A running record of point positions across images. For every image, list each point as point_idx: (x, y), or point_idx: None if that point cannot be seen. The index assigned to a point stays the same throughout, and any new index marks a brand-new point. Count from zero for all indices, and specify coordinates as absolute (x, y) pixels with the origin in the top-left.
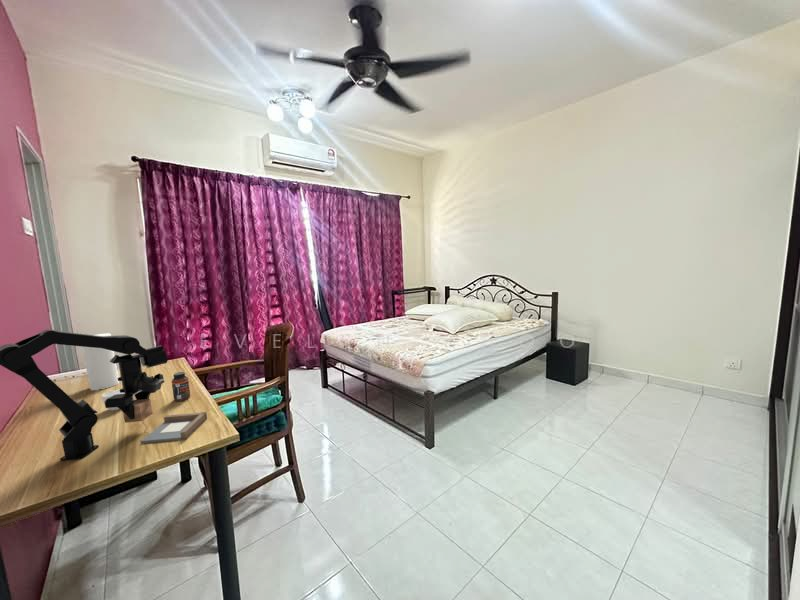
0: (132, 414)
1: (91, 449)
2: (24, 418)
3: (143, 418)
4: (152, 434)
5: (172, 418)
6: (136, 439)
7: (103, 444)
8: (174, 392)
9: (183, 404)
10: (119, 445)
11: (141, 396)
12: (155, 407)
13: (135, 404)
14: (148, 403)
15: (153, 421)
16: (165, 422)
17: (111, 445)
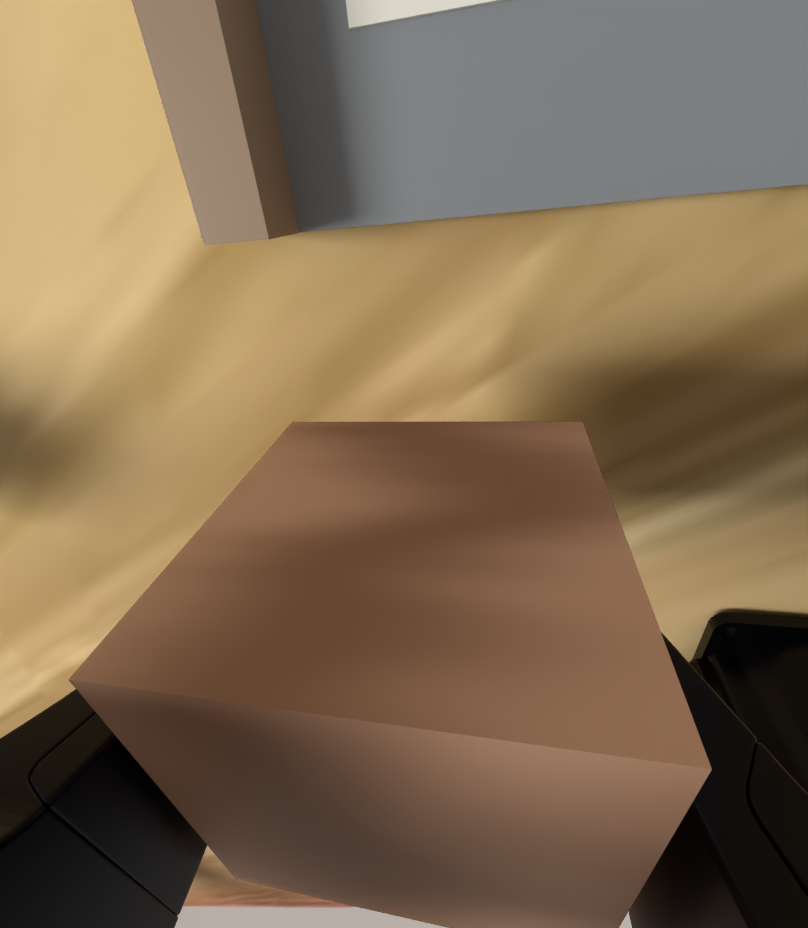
0: (673, 650)
1: (794, 637)
2: (293, 894)
3: (532, 435)
4: (730, 109)
5: (245, 64)
6: (696, 344)
7: (671, 600)
8: None
9: None
10: (784, 456)
11: (96, 907)
12: (62, 557)
13: (494, 852)
14: (238, 594)
15: (267, 426)
16: (319, 195)
17: (734, 531)
